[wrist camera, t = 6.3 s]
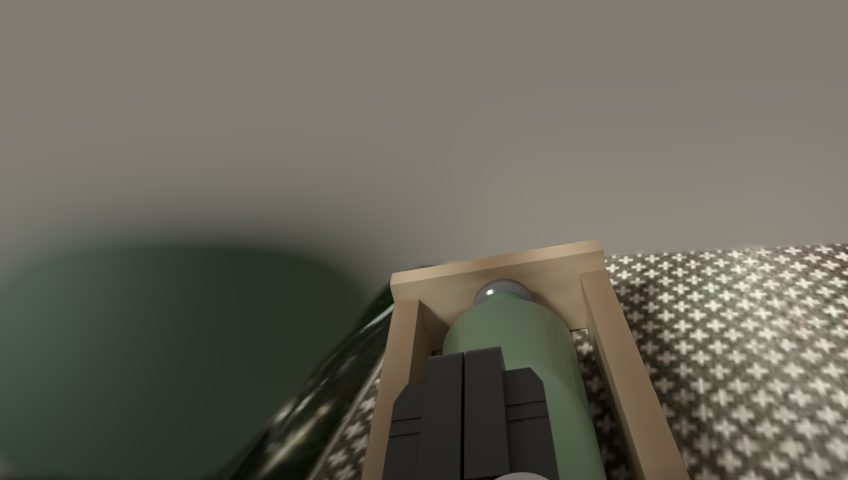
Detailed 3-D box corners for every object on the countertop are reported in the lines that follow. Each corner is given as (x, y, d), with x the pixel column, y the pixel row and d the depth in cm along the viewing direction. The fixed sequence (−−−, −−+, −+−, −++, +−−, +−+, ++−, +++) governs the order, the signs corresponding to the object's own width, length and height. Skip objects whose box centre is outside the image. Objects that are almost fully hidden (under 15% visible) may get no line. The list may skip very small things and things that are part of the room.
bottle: (402, 563, 16) (435, 262, 31) (445, 703, 18) (457, 360, 33) (632, 542, 16) (555, 244, 30) (648, 691, 18) (569, 345, 32)
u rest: (362, 693, 19) (323, 595, 17) (410, 341, 35) (392, 273, 33) (736, 663, 18) (731, 554, 16) (607, 311, 34) (598, 238, 32)
